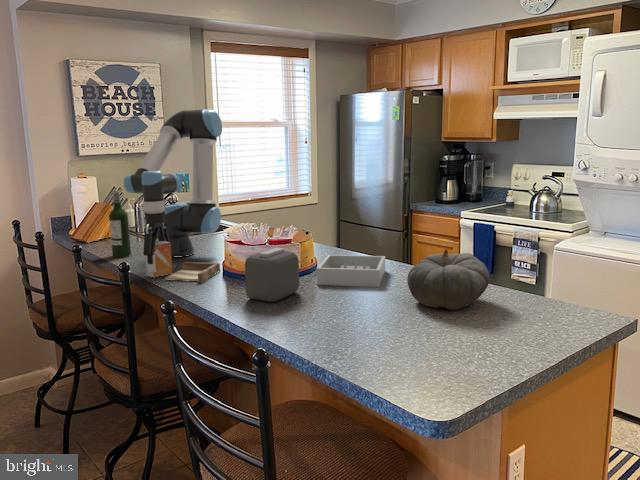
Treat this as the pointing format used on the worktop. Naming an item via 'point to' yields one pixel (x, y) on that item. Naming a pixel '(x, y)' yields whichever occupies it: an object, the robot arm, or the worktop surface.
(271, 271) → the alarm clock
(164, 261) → the small box
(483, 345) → the worktop surface
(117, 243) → the wine bottle
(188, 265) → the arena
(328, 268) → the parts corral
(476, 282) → the gourd
